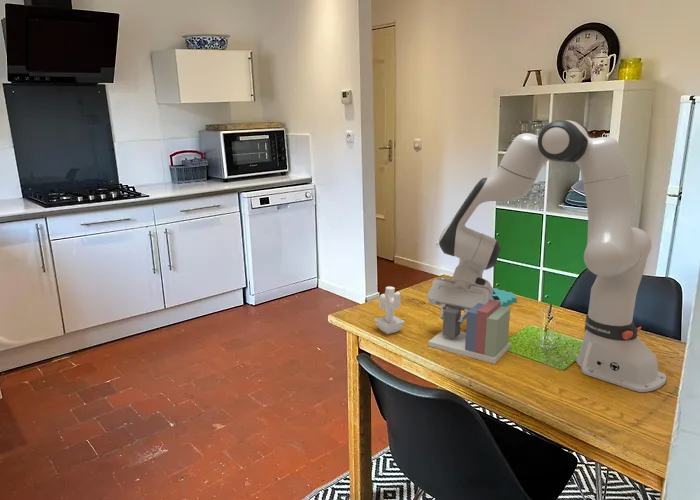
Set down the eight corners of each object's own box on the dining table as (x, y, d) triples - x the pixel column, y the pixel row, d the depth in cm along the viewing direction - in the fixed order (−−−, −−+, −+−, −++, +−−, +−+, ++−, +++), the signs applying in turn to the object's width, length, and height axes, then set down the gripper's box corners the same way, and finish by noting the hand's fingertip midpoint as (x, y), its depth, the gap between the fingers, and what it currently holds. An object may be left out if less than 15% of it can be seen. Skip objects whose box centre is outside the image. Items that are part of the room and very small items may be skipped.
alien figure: (466, 310, 193) (521, 310, 192) (466, 304, 192) (522, 304, 192) (456, 291, 212) (506, 291, 211) (456, 286, 211) (507, 286, 211)
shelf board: (510, 347, 161) (513, 302, 157) (494, 364, 151) (498, 316, 147) (446, 331, 173) (448, 289, 169) (428, 345, 163) (429, 301, 159)
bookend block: (460, 333, 165) (461, 309, 163) (454, 338, 162) (455, 313, 160) (448, 330, 167) (449, 306, 165) (442, 335, 164) (443, 310, 162)
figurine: (389, 323, 180) (390, 281, 176) (406, 333, 172) (408, 289, 168) (372, 328, 176) (372, 285, 172) (388, 338, 168) (389, 293, 164)
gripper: (432, 271, 171) (417, 309, 166) (494, 282, 160) (480, 323, 155) (438, 281, 176) (423, 317, 171) (498, 292, 165) (484, 332, 160)
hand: (451, 320), depth 163 cm, fingers open, 4 cm apart
